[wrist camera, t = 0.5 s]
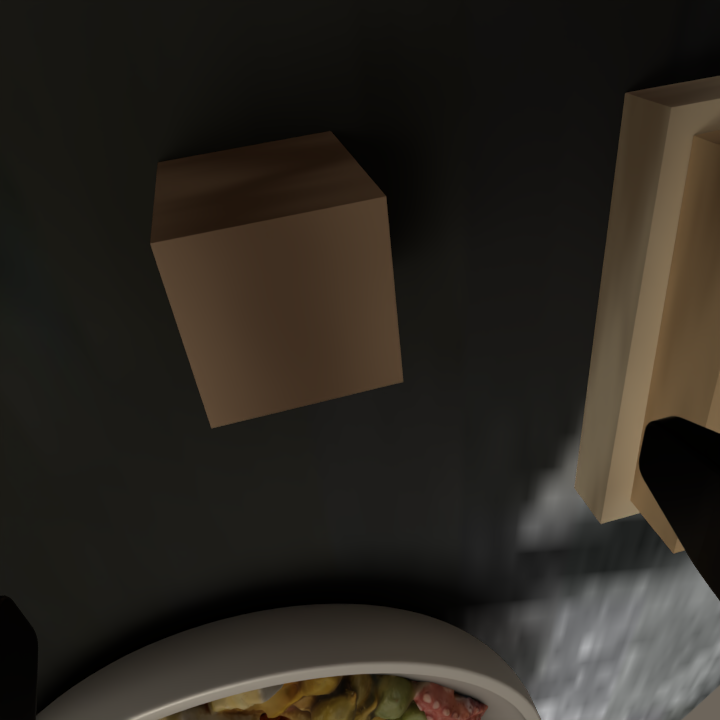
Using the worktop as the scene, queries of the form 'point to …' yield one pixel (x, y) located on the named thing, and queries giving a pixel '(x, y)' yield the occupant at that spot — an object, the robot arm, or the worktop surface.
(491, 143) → the worktop surface
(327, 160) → the walnut block
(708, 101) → the beech slab
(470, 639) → the bowl
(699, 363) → the oak slab
